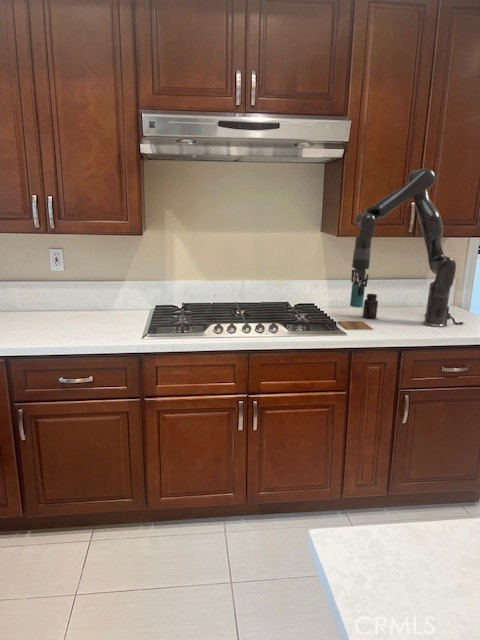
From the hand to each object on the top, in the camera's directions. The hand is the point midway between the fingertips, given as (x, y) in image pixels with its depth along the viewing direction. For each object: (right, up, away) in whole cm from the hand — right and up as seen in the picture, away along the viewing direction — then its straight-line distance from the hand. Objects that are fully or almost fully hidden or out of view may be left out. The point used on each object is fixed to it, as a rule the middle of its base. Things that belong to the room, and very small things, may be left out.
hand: (357, 294), depth 215 cm
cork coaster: (-1, -15, +4) cm, 15 cm away
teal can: (0, -6, +1) cm, 6 cm away
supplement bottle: (+11, -11, +20) cm, 26 cm away
